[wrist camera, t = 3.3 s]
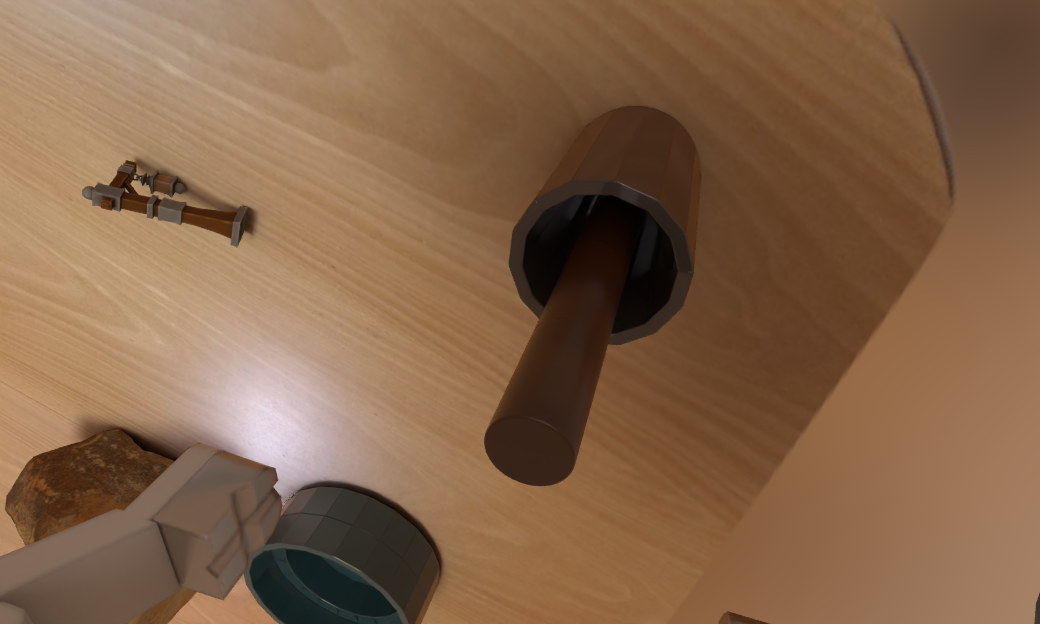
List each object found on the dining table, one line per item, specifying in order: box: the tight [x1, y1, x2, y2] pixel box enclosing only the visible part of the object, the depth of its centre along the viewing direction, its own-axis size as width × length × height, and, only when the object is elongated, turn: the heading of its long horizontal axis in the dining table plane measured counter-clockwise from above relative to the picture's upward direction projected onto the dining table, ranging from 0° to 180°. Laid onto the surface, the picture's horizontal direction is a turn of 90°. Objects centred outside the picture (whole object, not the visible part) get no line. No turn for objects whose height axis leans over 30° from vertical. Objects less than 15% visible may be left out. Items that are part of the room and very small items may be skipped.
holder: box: [509, 106, 701, 345], centre depth 24 cm, size 6×6×10 cm
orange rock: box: [5, 429, 196, 624], centre depth 48 cm, size 23×17×15 cm
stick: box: [484, 195, 645, 486], centre depth 20 cm, size 2×2×18 cm
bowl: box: [244, 486, 440, 624], centre depth 48 cm, size 14×14×6 cm
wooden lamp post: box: [82, 160, 247, 247], centre depth 34 cm, size 2×8×4 cm, turn 67°
